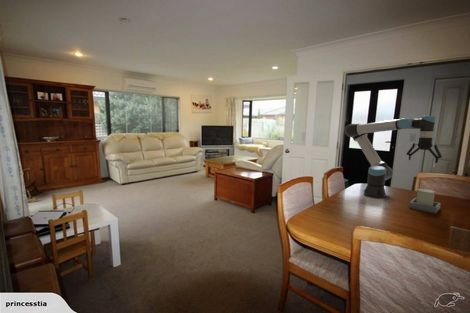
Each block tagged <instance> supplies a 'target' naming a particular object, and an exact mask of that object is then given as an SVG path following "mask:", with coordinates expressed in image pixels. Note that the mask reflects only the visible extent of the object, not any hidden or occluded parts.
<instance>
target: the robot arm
mask: <svg viewBox="0 0 470 313" xmlns="http://www.w3.org/2000/svg"><path fill="white" fill-rule="evenodd" d="M435 123H436V116H435V115H422V116H421V118H408V117H407V118H406V117H403V118H398V119H391V120H390V119H389V120H384V121H383V120H382V121H378V122H370V123H362V124H361V123H349V124H347V125H346V126H345V128H344V133H345V135H346V136H347V137H349V138H352V140H353V141H354V142H356V143H357V144H358V146H359V147H360V149H361V151H362V152H363V154H364V155H365V158H366V160H367V161H368V162H369V164H370V166H369V167H368V171H367V181H366V182H367V183H366V186H365V189H364V190H363V196H367V197H369V198H372V199H386V198H387V193H386V190H385V183H386V181H387V180H390V178H392V176H393V174H394V173H393V172H394V171H393V169H392V168H391V167H390V166H388V164H387V163H386V162H385V161H383V160H382V159H381V157H380V156H379V154H378V152H377V151H376V149H375V148H374V146H373V144H372V142H371V140H370V139H369V138H368V134H369V133H370V134H373V133H378V132H389V131H396V130H398V131H399V130H407V129H409V130H410V129H411V130H419V137H418V143H416V142H413V143H412V145H411V147H410V149H409V150H408V151H407V152H406V155H407V156H408V161H409V165H410V166H412V165H413V160H414V156H413V155H414V154H416V153H417V152H418V151H420V150H421V151H423V150H424V151H429V152H430V153H431V155H432V156H433V157H434V158H433V164H432V168H436V164H437V163H439V159H441V158H443V156H442V154H441V151H440V150H439V148H438V144H433V137H434V131H435V130H434V129H435ZM415 147H416V149H415ZM432 147H433V148H434V150H435V152H436V153H435V152H434V150H433V149H432Z"/></svg>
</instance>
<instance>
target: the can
mask: <svg viewBox="0 0 470 313" xmlns="http://www.w3.org/2000/svg"><path fill="white" fill-rule="evenodd" d="M435 193H436V192H435V191H434V190H432V189H427V188H417V192H416V198H417V199H416V203H418V204H422V205H427V206H431V207H433V202H435V201H434V200H435V195H436V194H435Z"/></svg>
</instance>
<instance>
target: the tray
mask: <svg viewBox="0 0 470 313" xmlns="http://www.w3.org/2000/svg"><path fill="white" fill-rule="evenodd" d="M416 199H417V197H414V198H413V199H411V200H410V201H409V206H408V208H409V209H413V210H417V211H422V212H427V213H429V214H430V213H431V214H435V215H436V214H438V212H439V210H440V209H441V202H437V201H433V207H431V206H427V205H422V204H418V203H416Z"/></svg>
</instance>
